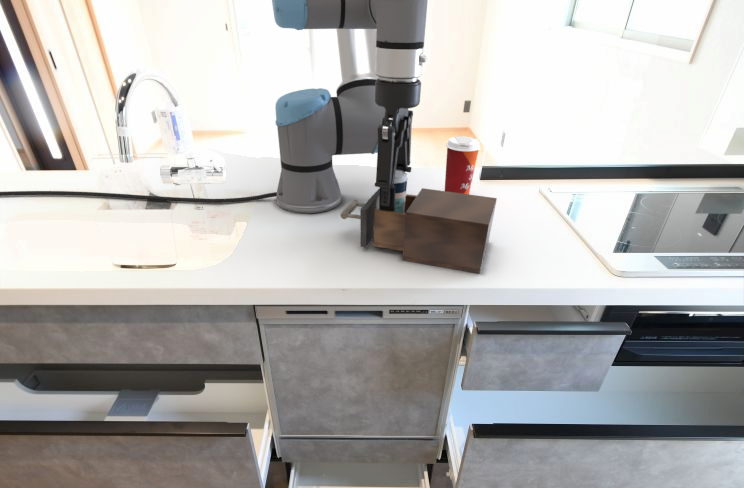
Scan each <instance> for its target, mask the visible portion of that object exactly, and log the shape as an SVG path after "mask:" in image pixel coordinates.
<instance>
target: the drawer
mask: <svg viewBox="0 0 744 488" xmlns="http://www.w3.org/2000/svg"><path fill="white" fill-rule="evenodd" d="M417 195H418V194H417ZM417 195H416V194H409V193H406V204H405V213H400V212H393V211H387V210H380V209H379V198H380V187H378V189H377V190H376V191H375V192H374V193H373V194H372V195H371V197H370V198H368V200H367V201H366V202H359V200H358V199H353V201H352V202H350V203H349V204H348V206H347V207H345V209H343V211H342V212H341V213H340V218H341V220H346V219H348V218H350V219H355V220H360V224H359V225H360V231H359V232H360V238H359V239H360V242H359V243H360V246H359V247H360V248H364V249H367V248H368V246H369V245H370V244H371V242H372V241H373V246H374V247H377V248H382V249H389V250H393V251H400V252H403V245H404V230H405V215H406V211H407V210H408V208H409V207H410V205H411V204H412V202H413V201H414V199H415V198H416V197H417ZM358 207H361V208H359V209H360V211H359V212H360V214H353V212H354V211H355V210H356V209H357V208H358Z"/></svg>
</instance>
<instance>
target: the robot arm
mask: <svg viewBox="0 0 744 488" xmlns="http://www.w3.org/2000/svg"><path fill="white" fill-rule="evenodd" d="M271 3H272V12H273V18H274V22H275V24H276V25H277V26H278V27H279V28H282V29H292V30H296V31H302V30H336V36H337V37H336V38H337V46H338V56H339V64H340V65H339V66H340V73H341V74H340V75H341V82H340V84H339V85H338V87H337V88H336V96H332V95H331V93H330V91H329V90H328V89H326V88H304V89H298V90H295V91H290V92H287V93H285V94H283V95H281V96H280V97H279V98H278V99H277V100H276V102H275V126H276V127H277V138H278V148H279V157H280V158H279V159H280V168H281V169H280V175H279V178H278V179H279V180H278V185H277V188H276V191H275V192H269V193H263V194H259V195H251V196H243V197H229V198H227V197H226V198H203V197H202V198H201V197H200V198H199V197H177V196H160V195H159V196H158V195H144V194H128V193H114V192H96V191H94V192H93V191H74V190H73V191H72V190H71V191H67V190H18V191H17V190H15V191H13V190H12V191H11V190H10V191H0V197H8V196H9V197H10V196H13V197H14V196H15V197H16V196H72V197H73V196H74V197H75V196H76V197H98V198H113V199H114V198H115V199H133V200H145V201H158V202H159V201H160V202H176V203H177V202H178V203H179V202H181V203H202V204H228V203H229V204H231V203H241V202H242V203H243V202H252V201H260V200H263V199H269V198H275V197H276V202H277V205H278V206H279V208H281V209H283V210H285V211H288V212H292V213H296V214H297V213H298V214H316V213H323V212H327V211H330V210H333V209H335V208H337V207H338V206H339V205H340V204H341V203H342V191H341V188H340V185H339V181H338V178H337V176H336V174H335V171H334V168H333V156H345V155H363V154H371V155H374V154H377V155H376V156H377V158H376V171H375V172H376V174H375V175H376V176H375V182H374V187H376V188H380V198H379V209H380V210H387V211H393V212H394V206H395V187H394V179H395V172H396V170H401V171H403V172H405V174H406V176H407V174H408V173H411V172H412V167H411V166H410V165H411V151H412V124H413V117H414V111H413V110H410V109H414V108H416V107H418V106H419V105H420V102H421V91H422V81H421V80H420V79H418V78H420V77H421V76H422V75H423V74H422V73H423V63H424V64H425V63H426V62H427V56H426V55H424V54H423V53H424V47H425V37H426V36H425V35H426V27H427V26H426V25H427V24H426V23H427V11H428V0H271Z"/></svg>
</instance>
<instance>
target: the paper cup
mask: <svg viewBox="0 0 744 488" xmlns="http://www.w3.org/2000/svg"><path fill="white" fill-rule="evenodd" d="M445 146H446V161H445V162H446V163H445V178H444V179H445V180H444V191H447V192H454V193H462V194H469V195H470V191H471V188H472V187H471V186H472V182H473V177H474V173H475V168H476V164H477V159H478V155H479V151H480V150H481V145H480V141H479V139H478V138H475V137H472V136H471V137H470V136H463V135H461V136H458V135H457V136H452V137H450V138H448V141H447V143H446V145H445Z"/></svg>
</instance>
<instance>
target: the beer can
mask: <svg viewBox="0 0 744 488" xmlns="http://www.w3.org/2000/svg"><path fill="white" fill-rule="evenodd" d="M405 173H406V172H403V171H401V170H396V172H395V179H394V187H395V206H394V212H400V213H405V204H406V194H407V185H408V176H407V175H406V174H405Z"/></svg>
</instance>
